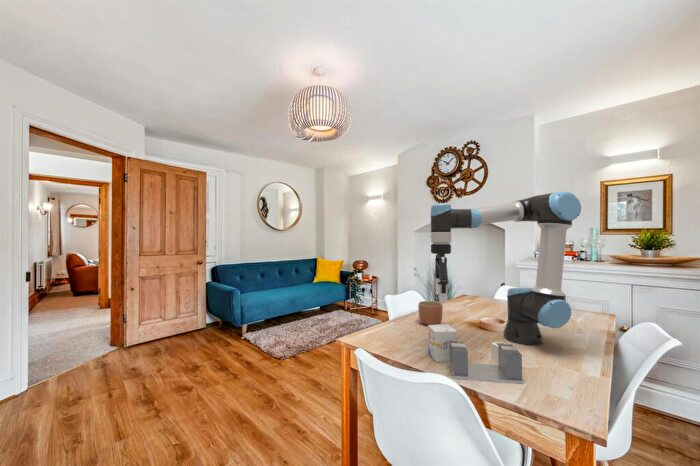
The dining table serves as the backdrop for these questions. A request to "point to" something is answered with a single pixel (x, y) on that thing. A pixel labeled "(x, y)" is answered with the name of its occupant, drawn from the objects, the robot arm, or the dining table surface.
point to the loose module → (495, 350)
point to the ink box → (440, 341)
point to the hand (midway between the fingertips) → (441, 298)
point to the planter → (430, 312)
